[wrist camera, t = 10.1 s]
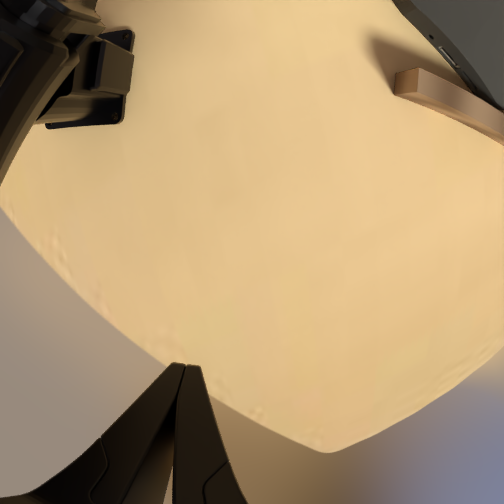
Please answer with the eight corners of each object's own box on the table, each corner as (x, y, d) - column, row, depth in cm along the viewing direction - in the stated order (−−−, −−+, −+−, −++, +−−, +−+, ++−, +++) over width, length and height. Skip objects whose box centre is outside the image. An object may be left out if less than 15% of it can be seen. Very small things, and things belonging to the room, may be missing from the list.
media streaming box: (432, -70, 7) (447, -81, 4) (531, 42, 10) (550, 41, 8) (365, -10, 12) (382, -26, 9) (493, 128, 15) (517, 132, 13)
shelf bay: (393, 94, 15) (416, 91, 12) (388, -94, 6) (401, -109, 3) (533, 164, 16) (554, 172, 13) (525, -6, 7) (542, -9, 4)
